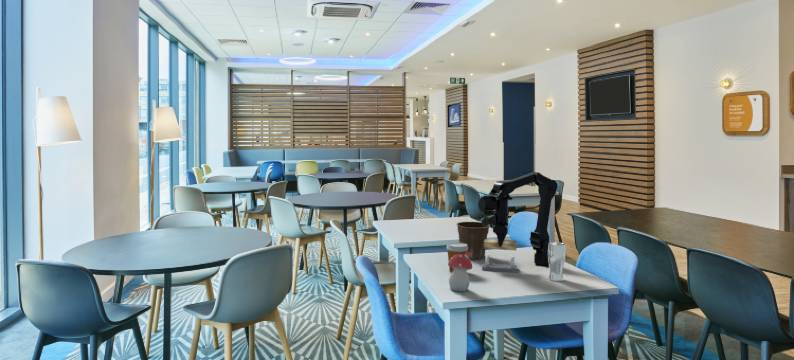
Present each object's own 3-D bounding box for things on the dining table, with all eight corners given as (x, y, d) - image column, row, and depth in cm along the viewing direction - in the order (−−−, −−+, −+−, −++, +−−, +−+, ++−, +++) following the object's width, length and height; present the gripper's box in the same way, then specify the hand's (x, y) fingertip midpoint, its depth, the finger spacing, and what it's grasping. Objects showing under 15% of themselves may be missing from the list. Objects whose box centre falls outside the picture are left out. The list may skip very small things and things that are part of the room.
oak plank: (516, 247, 215) (516, 240, 215) (516, 250, 210) (516, 243, 209) (484, 245, 219) (484, 239, 218) (483, 248, 213) (483, 241, 213)
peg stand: (517, 268, 217) (517, 256, 216) (517, 272, 210) (517, 260, 209) (483, 266, 220) (483, 254, 220) (482, 270, 213) (482, 257, 213)
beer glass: (564, 278, 202) (565, 242, 201) (564, 282, 195) (566, 246, 194) (547, 276, 204) (548, 241, 203) (546, 280, 198) (547, 244, 196)
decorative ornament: (474, 289, 185) (475, 251, 184) (466, 294, 180) (467, 254, 178) (453, 285, 190) (453, 248, 189) (444, 289, 185) (445, 251, 184)
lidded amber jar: (470, 270, 213) (471, 243, 212) (464, 275, 204) (464, 247, 203) (449, 267, 217) (450, 241, 216) (442, 273, 208) (443, 245, 207)
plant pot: (491, 261, 229) (492, 227, 228) (457, 260, 230) (458, 227, 228) (486, 253, 246) (486, 221, 244) (454, 252, 246) (454, 221, 245)
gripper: (483, 206, 224) (483, 239, 225) (481, 212, 206) (480, 248, 207) (508, 207, 221) (507, 241, 222) (508, 213, 203) (507, 250, 204)
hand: (500, 245), depth 214 cm, fingers closed on oak plank, 6 cm apart
